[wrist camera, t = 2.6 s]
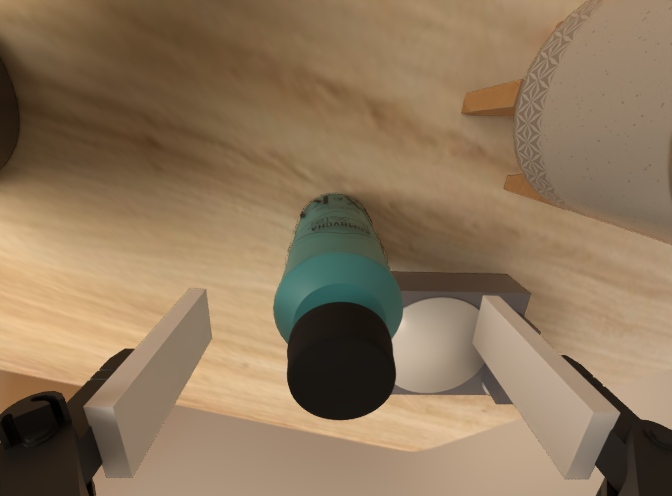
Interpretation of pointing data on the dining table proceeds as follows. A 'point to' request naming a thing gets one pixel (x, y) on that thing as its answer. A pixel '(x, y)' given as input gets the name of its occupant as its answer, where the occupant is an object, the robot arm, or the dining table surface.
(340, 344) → the beverage bottle
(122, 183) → the dining table surface
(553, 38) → the planter
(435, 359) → the domed button base
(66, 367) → the dining table surface
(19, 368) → the dining table surface
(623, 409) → the robot arm
